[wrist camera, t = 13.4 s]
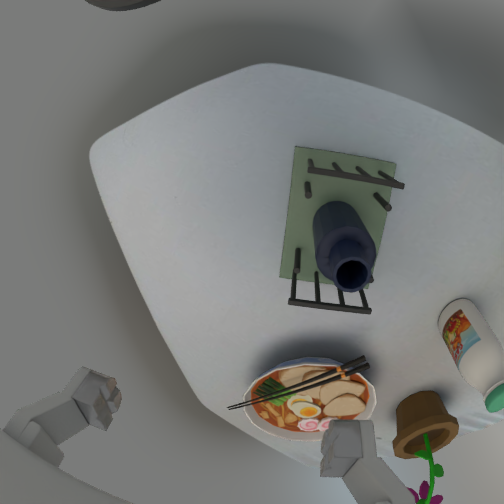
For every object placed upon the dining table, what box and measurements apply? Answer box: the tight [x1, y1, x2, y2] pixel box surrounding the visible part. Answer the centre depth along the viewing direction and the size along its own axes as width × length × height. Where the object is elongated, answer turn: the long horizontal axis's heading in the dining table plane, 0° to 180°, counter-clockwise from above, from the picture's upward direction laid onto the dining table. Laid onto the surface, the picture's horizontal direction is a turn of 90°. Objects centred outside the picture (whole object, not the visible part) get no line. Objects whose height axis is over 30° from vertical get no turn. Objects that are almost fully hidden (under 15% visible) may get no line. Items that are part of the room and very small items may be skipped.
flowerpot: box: [392, 391, 459, 504], centre depth 38 cm, size 14×14×30 cm
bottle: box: [312, 201, 377, 292], centre depth 32 cm, size 6×6×14 cm
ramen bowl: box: [227, 355, 377, 442], centre depth 48 cm, size 25×23×8 cm
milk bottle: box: [438, 299, 504, 413], centre depth 33 cm, size 8×8×20 cm
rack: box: [279, 146, 405, 314], centre depth 35 cm, size 18×13×10 cm
